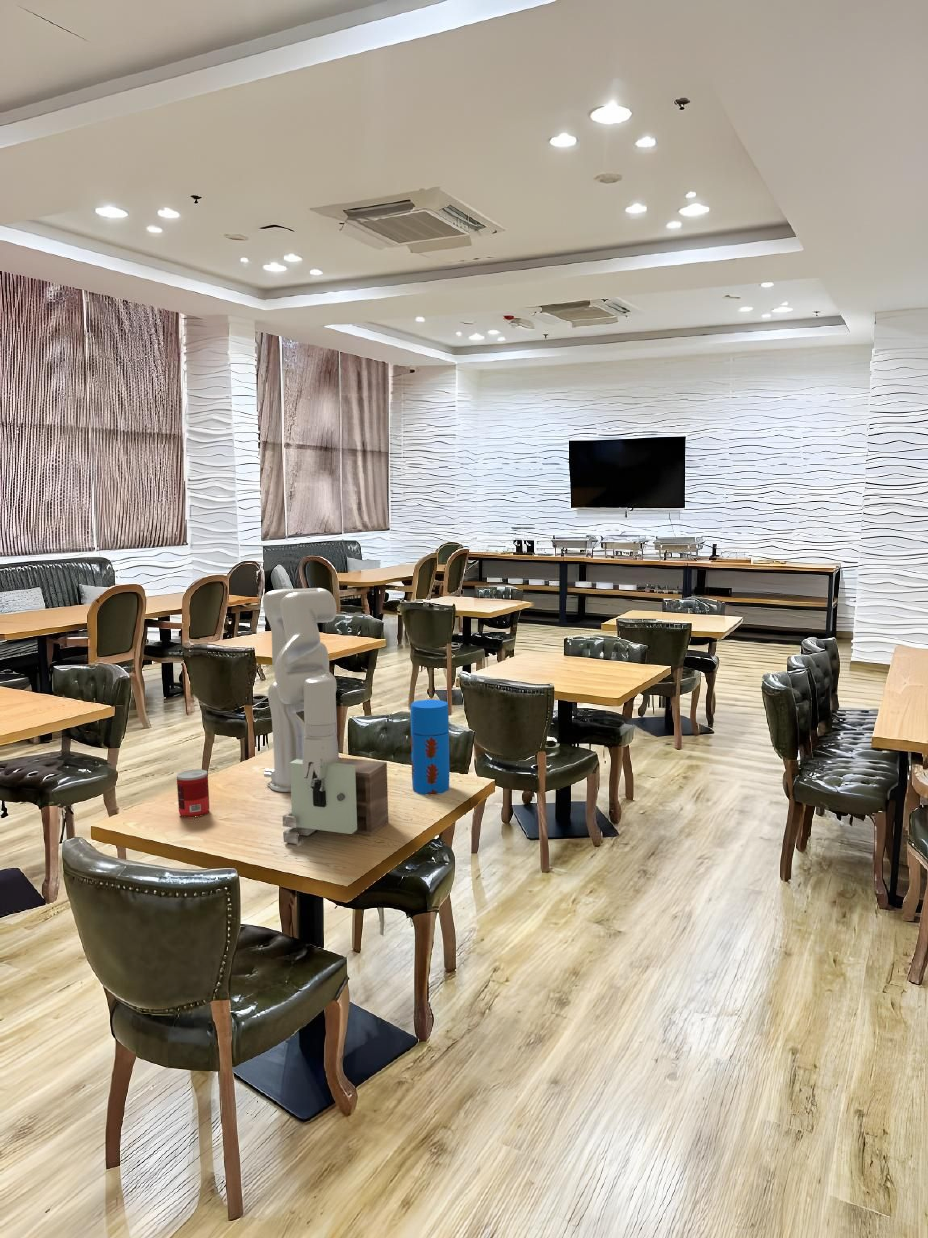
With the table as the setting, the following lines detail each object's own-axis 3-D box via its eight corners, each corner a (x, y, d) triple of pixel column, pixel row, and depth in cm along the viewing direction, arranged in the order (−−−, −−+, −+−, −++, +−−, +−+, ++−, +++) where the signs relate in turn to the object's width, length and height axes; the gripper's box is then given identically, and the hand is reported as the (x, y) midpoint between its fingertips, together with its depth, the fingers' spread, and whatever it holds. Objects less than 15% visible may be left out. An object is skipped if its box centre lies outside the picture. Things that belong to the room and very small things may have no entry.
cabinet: (280, 843, 211) (277, 779, 209) (323, 814, 231) (321, 755, 229) (350, 853, 205) (348, 787, 202) (388, 822, 224) (386, 762, 222)
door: (290, 828, 210) (287, 763, 208) (298, 822, 214) (296, 759, 212) (349, 835, 205) (347, 769, 203) (357, 829, 208) (355, 765, 206)
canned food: (215, 810, 235) (213, 771, 233) (195, 820, 228) (192, 779, 226) (193, 806, 238) (191, 767, 237) (172, 816, 231) (170, 776, 229)
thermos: (414, 796, 244) (412, 709, 241) (410, 784, 255) (408, 700, 251) (452, 793, 246) (451, 707, 242) (447, 781, 256) (445, 698, 253)
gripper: (323, 720, 216) (326, 791, 218) (288, 736, 200) (292, 813, 203) (350, 722, 213) (353, 794, 215) (317, 739, 198) (320, 817, 200)
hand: (323, 803), depth 209 cm, fingers closed on door, 3 cm apart
